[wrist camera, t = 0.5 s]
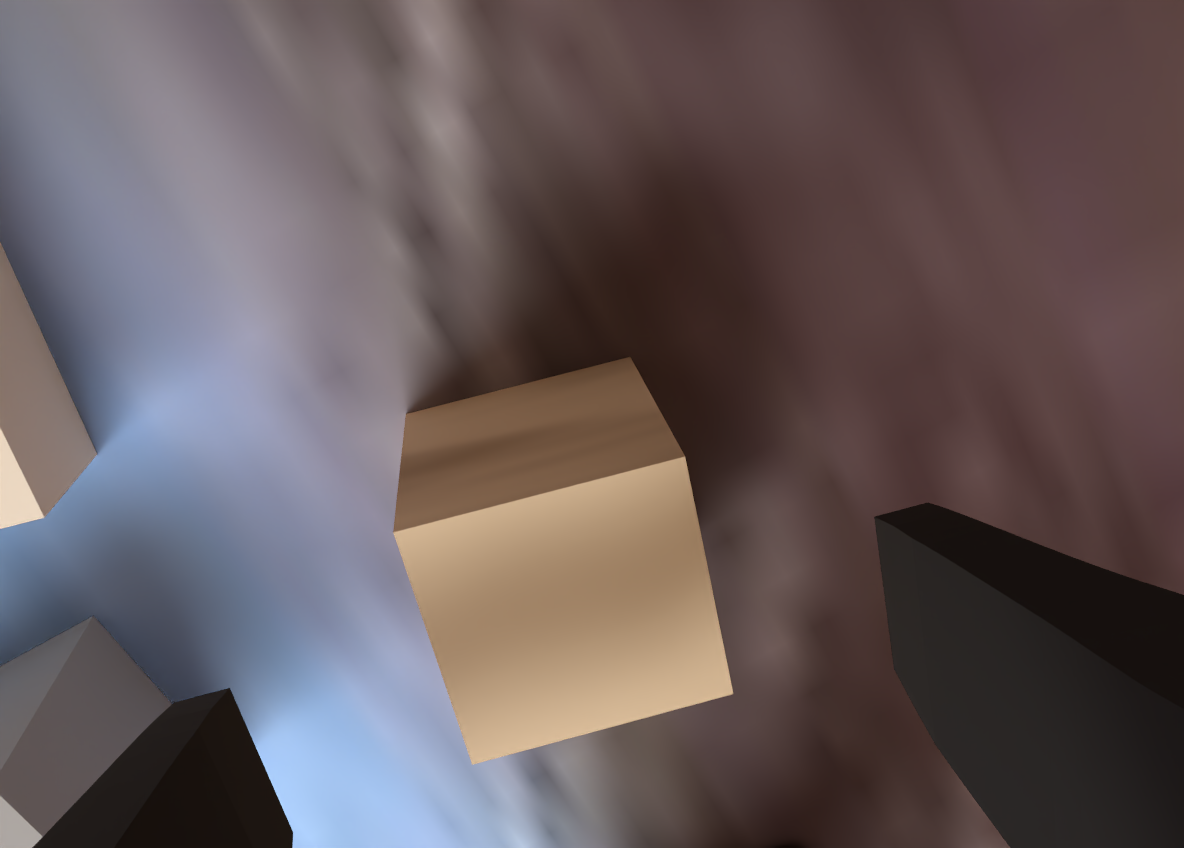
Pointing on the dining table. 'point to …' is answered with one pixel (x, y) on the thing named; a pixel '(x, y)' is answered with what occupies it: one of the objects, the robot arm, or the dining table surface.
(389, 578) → the dining table surface
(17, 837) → the slate block
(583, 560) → the maple block
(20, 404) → the cream slab
